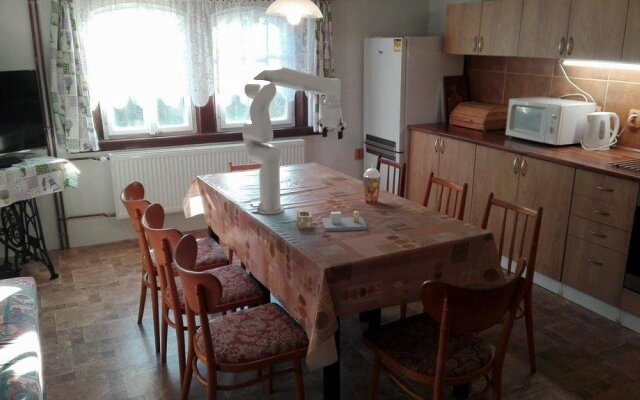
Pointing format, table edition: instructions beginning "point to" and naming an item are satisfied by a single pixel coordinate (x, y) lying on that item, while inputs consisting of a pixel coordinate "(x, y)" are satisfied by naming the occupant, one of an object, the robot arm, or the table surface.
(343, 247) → the table surface
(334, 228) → the pin board
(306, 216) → the sleeve
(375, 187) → the smoothie
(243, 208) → the table surface
